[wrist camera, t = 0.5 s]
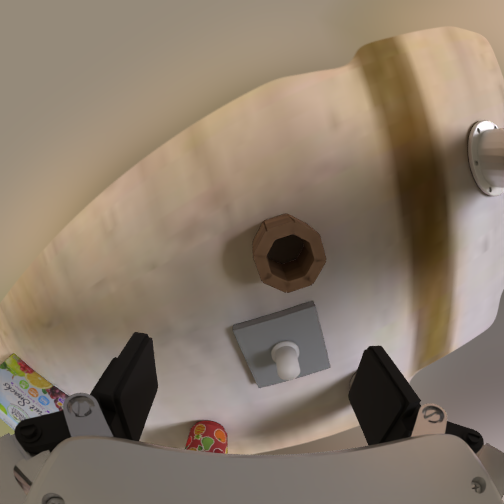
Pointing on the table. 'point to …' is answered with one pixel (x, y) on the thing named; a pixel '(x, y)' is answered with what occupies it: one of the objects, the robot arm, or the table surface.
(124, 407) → the robot arm
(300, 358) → the post stand
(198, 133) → the table surface
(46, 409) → the snack box
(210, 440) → the smoothie
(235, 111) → the table surface
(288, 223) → the walnut ring
